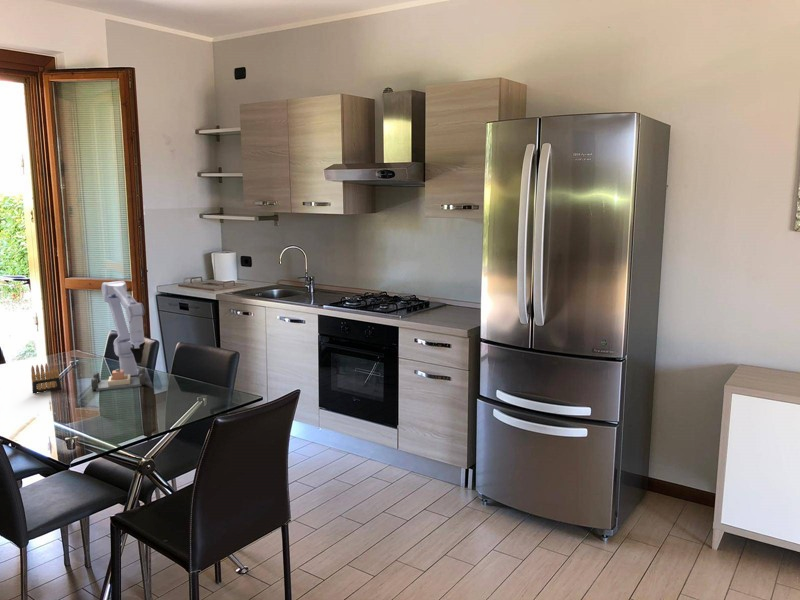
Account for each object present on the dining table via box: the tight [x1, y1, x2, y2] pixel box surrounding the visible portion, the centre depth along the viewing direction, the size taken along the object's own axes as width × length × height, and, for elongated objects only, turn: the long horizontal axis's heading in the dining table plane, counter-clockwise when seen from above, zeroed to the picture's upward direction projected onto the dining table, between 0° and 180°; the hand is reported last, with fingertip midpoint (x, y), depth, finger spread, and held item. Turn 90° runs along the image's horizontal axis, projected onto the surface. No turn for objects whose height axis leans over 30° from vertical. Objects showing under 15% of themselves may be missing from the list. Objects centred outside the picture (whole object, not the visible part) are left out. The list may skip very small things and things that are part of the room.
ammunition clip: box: [30, 361, 62, 394], centre depth 284 cm, size 11×2×12 cm, turn 127°
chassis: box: [90, 367, 147, 392], centre depth 292 cm, size 14×21×5 cm, turn 109°
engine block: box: [111, 368, 124, 380], centre depth 291 cm, size 4×4×6 cm
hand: (139, 360), depth 296 cm, fingers open, 7 cm apart
